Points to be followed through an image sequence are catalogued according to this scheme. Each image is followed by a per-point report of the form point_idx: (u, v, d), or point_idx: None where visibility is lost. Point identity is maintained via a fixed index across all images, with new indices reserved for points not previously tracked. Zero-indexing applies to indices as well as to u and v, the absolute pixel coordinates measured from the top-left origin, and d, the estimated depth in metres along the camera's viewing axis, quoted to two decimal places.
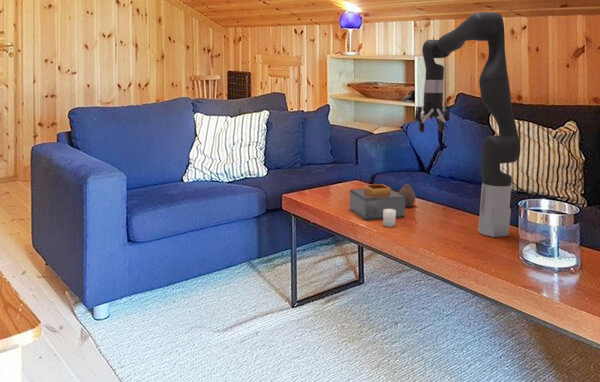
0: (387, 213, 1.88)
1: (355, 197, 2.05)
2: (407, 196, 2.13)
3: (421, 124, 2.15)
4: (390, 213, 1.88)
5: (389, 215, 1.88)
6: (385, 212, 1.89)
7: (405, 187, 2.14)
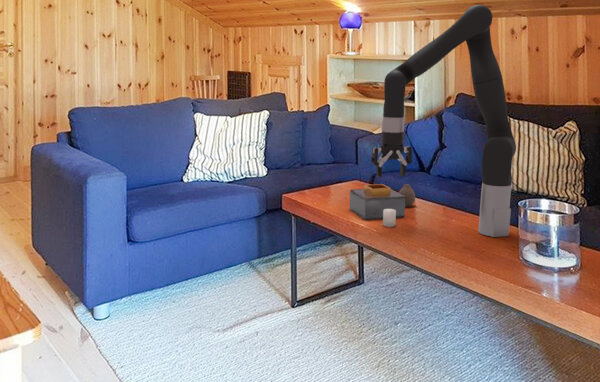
0: (387, 213, 1.88)
1: (355, 197, 2.05)
2: (407, 196, 2.13)
3: (378, 168, 1.85)
4: (390, 213, 1.88)
5: (389, 215, 1.88)
6: (385, 212, 1.89)
7: (405, 187, 2.14)
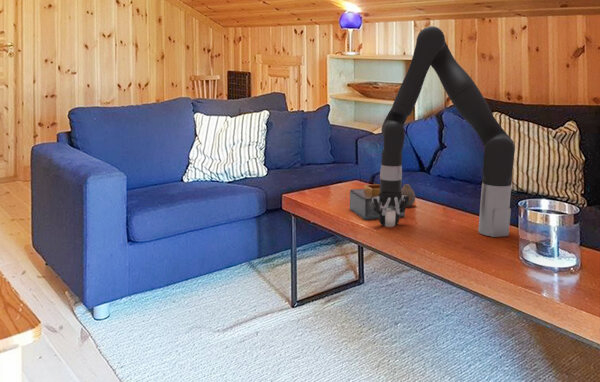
0: (387, 213, 1.88)
1: (355, 197, 2.05)
2: None
3: (381, 216, 1.89)
4: (390, 213, 1.88)
5: (389, 215, 1.88)
6: (385, 212, 1.89)
7: (405, 187, 2.14)
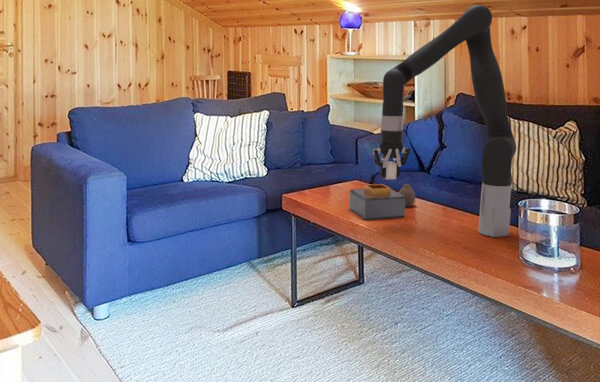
0: (388, 165, 1.85)
1: (355, 197, 2.05)
2: (407, 196, 2.13)
3: (382, 169, 1.86)
4: (391, 165, 1.85)
5: (390, 167, 1.85)
6: (386, 164, 1.85)
7: (405, 187, 2.14)
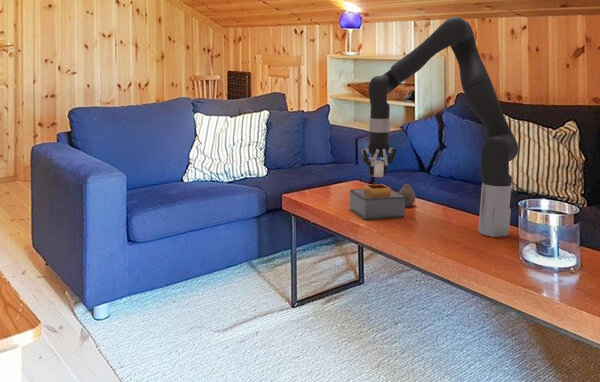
0: (375, 164, 2.00)
1: (355, 197, 2.05)
2: (407, 196, 2.13)
3: (370, 167, 2.01)
4: (378, 164, 2.00)
5: (377, 166, 2.00)
6: (374, 163, 2.01)
7: (405, 187, 2.14)
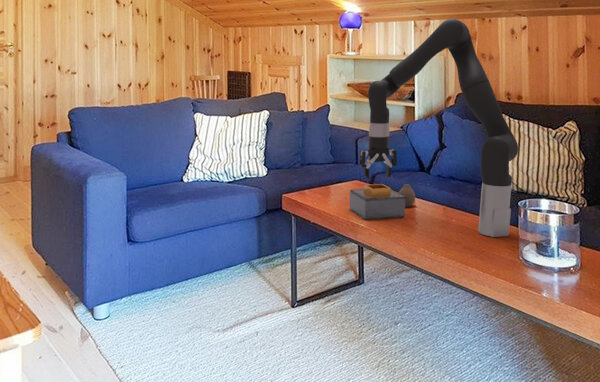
0: None
1: (355, 197, 2.05)
2: (407, 196, 2.13)
3: (366, 170, 2.01)
4: None
5: None
6: None
7: (405, 187, 2.14)
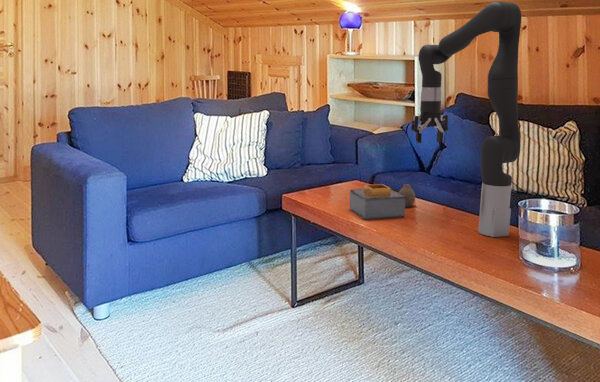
0: None
1: (355, 197, 2.05)
2: (407, 196, 2.13)
3: (418, 134, 2.02)
4: None
5: None
6: None
7: (405, 187, 2.14)
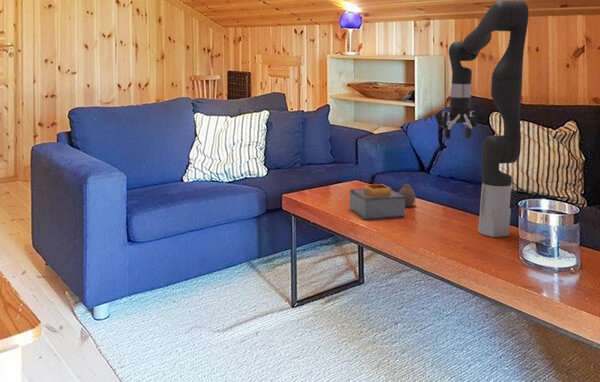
0: None
1: (355, 197, 2.05)
2: (407, 196, 2.13)
3: (447, 130, 2.04)
4: None
5: None
6: None
7: (405, 187, 2.14)
